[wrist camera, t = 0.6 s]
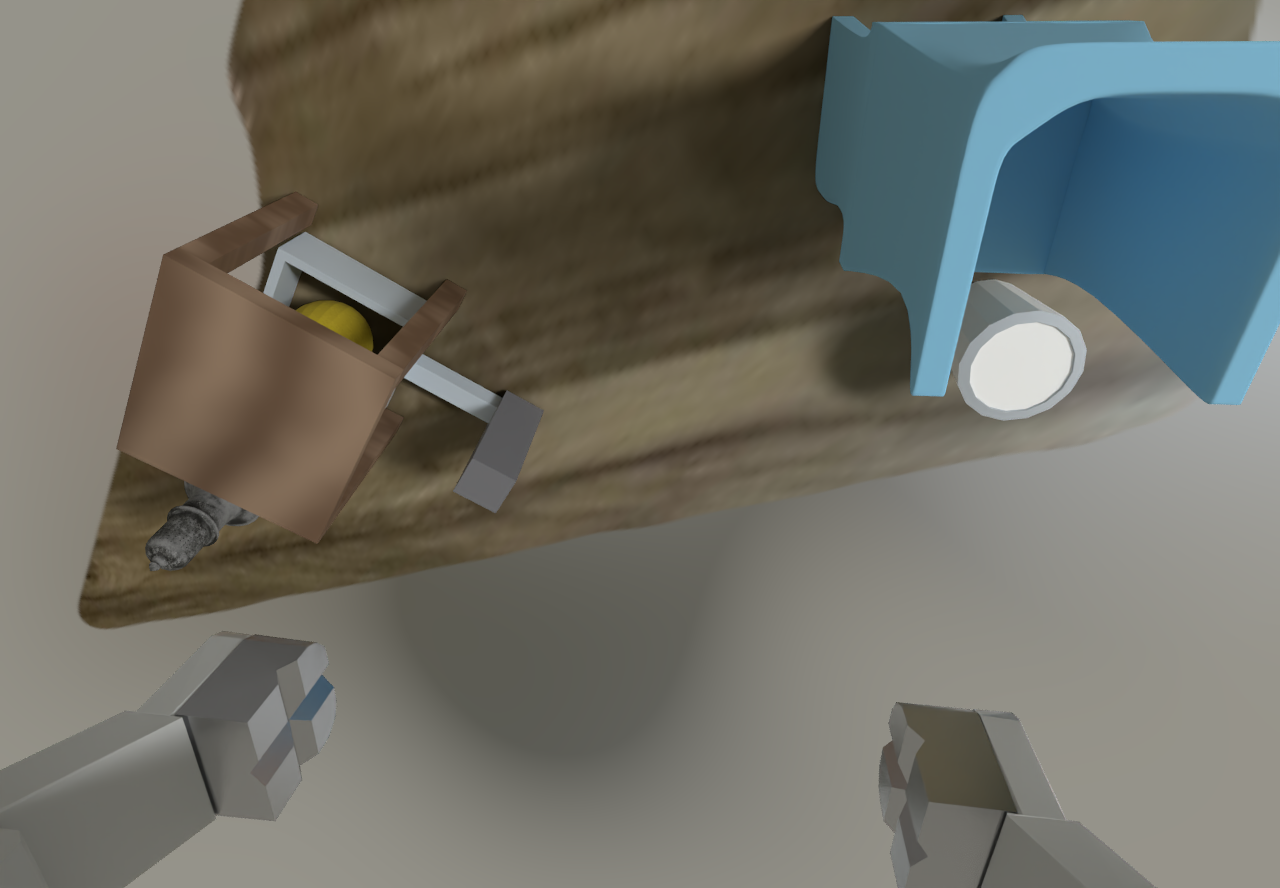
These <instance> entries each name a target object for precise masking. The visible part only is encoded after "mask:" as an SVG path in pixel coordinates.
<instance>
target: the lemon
mask: <svg viewBox="0 0 1280 888" xmlns="http://www.w3.org/2000/svg"><path fill="white" fill-rule="evenodd" d="M295 311H297V312H299V313H301V314H303V315H305V316H306V317H308V318H310V319H312V320H314V321H316V322H318V323H319V324H321V325H323V326H325V327H327V328H329V329H330V330H332V331H334V332H336V333H338V334H340V335H342V336H343V337H345V338H347V339H349V340H351V341H353V342H354V343H356V344H358V345H360V346H362V347H364V348H366V349H367V350H369V351H371V352H372V350H373V336H372V333H371V329H370V327H369V325H368V323H367V321H366V320H365V318H364V317H363V316H362V315H361V314H360V313H359V312H358V311H356V310H355V309H354V308H352V307H351V306H348V305H346V304H344V303H342V302H337V301H333V300H319V301H315V302H312V303H308V304H305V305H303V306H301V307H300V308H298V309H297V310H295Z"/></svg>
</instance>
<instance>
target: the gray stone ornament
mask: <svg viewBox="0 0 1280 888" xmlns="http://www.w3.org/2000/svg"><path fill="white" fill-rule="evenodd" d="M184 486H185V491H186V494H187V496H188V498H189V499H188V500H187V501H186V502H185V503H184V504H183V505H182V506H177V507H175V508H173V509H171V511H170V512H169V513H168V516H167V522H166V523H165V524H164V525H163V526H162V527H161V528H160V529H159V530H158V531H157V532H156V533H155V534H154V535H153V536H152V537H151V538H150V539H149V540H148V542H147V544H146V547H145V549H146V555H147V557H148V559H149V560H150V561H151V563H150V564H149V566H150V567H149V568H150V571H155V570H159V569H160V568H162V569H165V570H178V569H181V568H183V567H185V566H186V565H187V564H188V563H189V562H190V561H191V560H192V559H193V557H194V556H195V555H196V554H197V553H198V552H199V551H200V550H201V549H202V548H203V547H205V546H210V545H212V544H214V543H215V542H216V541H217V539H218V536H219V531H220V530H221V528H222V527H223V526H224V525H229V526H242V525H248V524H250V523H252V522H254V521H255V520H256V519H257V518H258V517H259V516H258V515H255V514H253V513H251V512H249V511H247V510H245V509H243V508H241V507H239V506H236V505H234V504H232V503H230V502H228V501H226V500H224V499H222V498H219V497H217V496H215V495H213V494H211V493H209V492H207V491H205V490H202V489H200V488H198V487H196V486H194V485H192V484H190V483H188V482H186V481H184Z"/></svg>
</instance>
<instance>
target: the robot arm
mask: <svg viewBox="0 0 1280 888" xmlns="http://www.w3.org/2000/svg"><path fill="white" fill-rule="evenodd" d="M328 665H329V661H328V657H327V654H326V650H325V646H323V645H321V644H319V643H316V642H309V641H301V640H293V639H286V638H277V637H270V636H263V635H249V634H241V633H233V632H227V631H222V632H219V633H217V634H215V635H212V636H211V637H210V638H209V639H208V640H207V641H206V642H205V643H204V644H203V645H202V646H201V647H200V648H199V649H198V650H197V651H196V652H195V653H194V654H193V655H192V656H191V657H190V658H189V659H188V660H187V661H186V662H185V663H184V664H183V665H182V666H181V667H180V668H179V669H178V670H177V671H176V672H175V673H174V674H173V675H172V676H171V677H170V678H169V679H168V680H167V681H166V682H165V683H164V684H163V685H162V686H161V687H160V688H159V689H158V690H157V691H156V692H155V693H154V694H153V695H152V696H151V697H150V698H149V699H148V700H147V701H146V702H145V703H144V704H143V705H142V706H141V707H140V708H139V709H138V710H137V711H136V712H134V711H124V712H122V713H119V714H117V715H115V716H113V717H111V718H109V719H107V720H105V721H103V722H101V723H98V724H97V725H94V726H92V727H90V728H88V729H86V730H84V731H82V732H80V733H77V734H76V735H73V736H71V737H69V738H67V739H65V740H63V741H61V742H59V743H56V744H55V745H52V746H50V747H48V748H46V749H44V750H42V751H40V752H38V753H36V754H33V755H31V756H29V757H27V758H25V759H23V760H21V761H19V762H16V763H14V764H12V765H10V766H8V767H6V768H4V769H2V770H0V888H124V887H125V886H127V885H128V884H129V883H131V882H132V881H133V880H135V879H136V878H137V877H139V876H140V875H141V874H143V873H144V872H145V871H147V870H148V869H149V868H151V867H152V866H153V865H155V864H156V863H157V862H159V861H160V860H162V859H163V858H164V857H165V856H167V855H168V854H169V853H171V852H172V851H174V850H175V849H176V848H178V847H179V846H180V845H181V844H183V843H184V842H185V841H187V840H188V839H190V838H191V837H192V836H194V835H195V834H196V833H198V832H199V831H200V830H202V829H203V828H204V827H206V826H207V825H208V824H210V823H211V822H212V821H214V820H215V819H216V817H215V815H218V816H228V817H238V818H249V819H259V820H269V821H276V819H277V818H278V816H279V815H280V813H281V811H282V810H283V808H284V807H285V805H286V804H287V802H288V801H289V799H290V798H291V796H292V794H293V793H294V791H295V790H296V788H297V787H298V785H299V784H300V782H301V781H302V776H301V769H300V765H302V764H303V763H305V762H306V761H308V760H309V759H311V758H313V757H314V756H316V755H317V754H319V752H320V751H321V749H322V748H323V746H324V744H325V743H326V741H327V739H328V738H329V736H330V733H331V729H332V726H333V723H334V720H335V717H336V695H335V690H334V687H333V686H332V685H331V684H330V683H329V682H328V681H327V680H326V679H325V677H324V676H323V675H322V673H323V672H324V670H325V669H326V668H327V666H328ZM889 728H890V732H891V736H892V741H891V742H890V743H888V744H887V745H886V746H884V747H883V750H882V755H881V760H880V765H879V795H880V804H881V809H882V815H883V820H884V822H885V823H886V824H887V825H888V826H889V827H890V828H891V829H892V831H893V832H894V833H895V835H894V839H893V843H892V847H891V851H890V854H891V859H892V863H893V868H894V872H895V877H896V882H897V887H898V888H1156V887H1155V886H1154V885H1153V884H1152V883H1151V882H1149V881H1148V880H1147V879H1146V878H1145V877H1144V876H1142V875H1141V874H1140V873H1139V872H1138V871H1137V870H1135V869H1134V868H1133V867H1132V866H1131V865H1130V864H1128V863H1127V862H1126V861H1125V860H1123V859H1122V858H1121V857H1120V856H1119V855H1118V854H1117V853H1115V852H1114V851H1113V850H1112V849H1111V848H1110V847H1108V846H1107V845H1106V844H1105V843H1104V842H1102V841H1101V840H1100V839H1099V838H1098V837H1097V836H1096V835H1094V834H1093V833H1092V832H1091V831H1090V830H1089V829H1087V828H1086V827H1085V826H1084V825H1083V824H1081V823H1080V822H1077V821H1070V820H1066V817H1065V815H1064V813H1063V811H1062V809H1061V807H1060V805H1059V802H1058V800H1057V798H1056V796H1055V794H1054V792H1053V790H1052V788H1051V786H1050V783H1049V781H1048V779H1047V777H1046V775H1045V773H1044V771H1043V769H1042V766H1041V764H1040V762H1039V760H1038V758H1037V756H1036V754H1035V752H1034V749H1033V747H1032V745H1031V743H1030V741H1029V739H1028V737H1027V734H1026V732H1025V731H1024V728H1023V726H1022V724H1021V722H1020V720H1019V718H1018V717H1017V716H1015V715H1014V714H1013V713H1009V712H999V711H988V710H976V709H973V710H970V709H962V708H952V707H941V706H930V705H920V704H910V703H899V702H896V703H895V705H894V707H893V708H892V711H891V716H890V719H889Z"/></svg>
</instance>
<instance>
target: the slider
mask: <svg viewBox="0 0 1280 888" xmlns="http://www.w3.org/2000/svg"><path fill="white" fill-rule="evenodd" d="M302 271H304V272H305V273H307V274H309V275H311V276H313V277H314V278H316V279H318V280H320V281H322V282H323V283H325V284H327V285H329V286H331V287H332V288H334V289H336V290H338V291H340V292H341V293H343V294H345V295H347V296H349V297H350V298H352V299H354V300H356V301H358V302H359V303H361V304H363V305H365V306H367V307H368V308H370V309H372V310H374V311H376V312H377V313H379V314H381V315H383V316H385V317H386V318H388V319H390V320H392V321H394V322H395V323H397V324H399V325H401V326H404V325H405V324H406V323H407V322H408V321H409V320H410V319H411V318H412V317H413V316H414V314H415V313H416V312H417V311H418V310H419V309H420V308H421V307H422V306H423V305H424V304H425V302H426V300H425V299H423V298H421V297H419V296H418V295H416V294H414V293H412V292H411V291H409V290H407V289H405V288H403V287H402V286H400V285H398V284H396V283H395V282H393V281H391V280H389V279H388V278H386V277H384V276H382V275H381V274H379V273H377V272H375V271H374V270H372V269H370V268H368V267H367V266H365V265H363V264H361V263H359V262H358V261H356V260H354V259H352V258H351V257H349V256H347V255H345V254H344V253H342V252H340V251H338V250H337V249H335V248H333V247H331V246H330V245H328V244H326V243H324V242H323V241H321V240H319V239H317V238H315V237H314V236H312V235H310V234H308V233H307V232H304V233H302V234H301V235H299V236H297V237H296V238H294V239H292V240H291V241H289V242H287V243H285V244H284V245H282V246H280V247H279V248H278V250H277V253H276V256H275V259H274V262H273V265H272V268H271V271H270V274H269V277H268V280H267V283H266V286H265V289H264V292H263V293H264V294H266V295H268V296H270V297H271V298H273V299H275V300H277V301H279V302H281V303H282V304H284V305H286V306H288V307H289V306H290V303H291V300H292V298H293V295H294V292H295V289H296V286H297V284H298V281H299V278H300V275H301V272H302ZM404 378H405V379H407V380H409V381H411V382H413V383H414V384H416V385H418V386H420V387H422V388H424V389H426V390H427V391H429V392H431V393H433V394H435V395H437V396H438V397H440V398H442V399H444V400H446V401H448V402H450V403H451V404H453V405H455V406H457V407H459V408H461V409H463V410H464V411H466V412H468V413H470V414H472V415H474V416H476V417H477V418H479V419H481V420H483V421H485V422H487V423H488V424H487V426H486V428H485V430H484V432H483V434H482V436H481V438H480V440H479V442H478V444H477V446H476V448H475V449H474V451H473V453H472V455H471V457H470V459H469V461H468V463H467V465H466V467H465V469H464V471H463V473H462V475H461V477H460V479H459V481H458V483H457V485H456V487H455V489H454V491H453V492H455V493H457V494H459V495H461V496H463V497H465V498H467V499H469V500H471V501H473V502H475V503H477V504H479V505H481V506H483V507H485V508H487V509H488V510H490V511H492V512H494V513H496V512H497V510H498V509H499V507H500V506H501V504H502V503H503V501H504V499H505V498H506V496H507V495H508V493H509V492H510V490H511V488H512V487H513V485H514V484H515V482H516V480H517V478H518V475H519V473H520V470H521V468H522V465H523V462H524V460H525V457H526V455H527V452H528V450H529V447H530V445H531V442H532V440H533V437H534V434H535V432H536V429H537V427H538V424H539V422H540V419H541V417H542V414H543V410H542V409H540V408H538V407H536V406H534V405H533V404H531V403H529V402H527V401H525V400H524V399H522V398H520V397H518V396H516V395H514V394H513V393H511V392H509V391H506V393H505V394H504V396H503V398H501V397H500V396H498V395H496V394H494V393H492V392H491V391H489V390H487V389H485V388H483V387H481V386H480V385H478V384H476V383H474V382H472V381H471V380H469V379H467V378H465V377H463V376H461V375H460V374H458V373H456V372H454V371H452V370H451V369H449V368H447V367H445V366H443V365H441V364H440V363H438V362H436V361H434V360H432V359H431V358H429V357H427V356H425V355H423V354H422V355H421V357H420V358H419V359H418V360H417V362H416V363H415V364H414V365H413V367H412V368H411V369H410V370H409V372H408V373H407V374H406V375H405V377H404ZM395 389H396V388H395ZM395 389H394V391H395ZM394 391H393V393H394ZM393 393H392V395H393ZM392 395H391V397H392ZM391 397H390V399H391ZM390 399H389V401H390ZM389 401H388V403H389ZM388 403H387V405H386V407H387V406H388Z"/></svg>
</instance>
